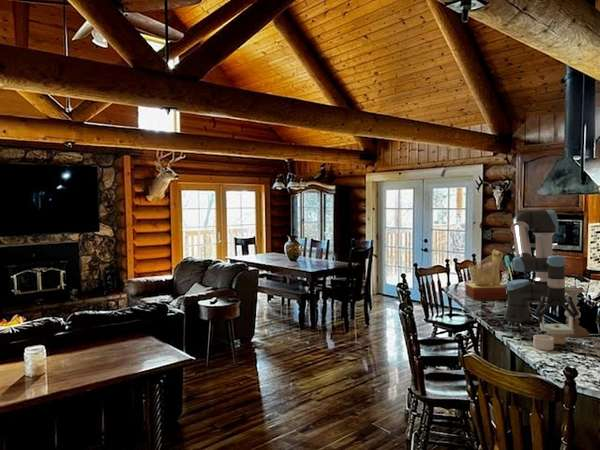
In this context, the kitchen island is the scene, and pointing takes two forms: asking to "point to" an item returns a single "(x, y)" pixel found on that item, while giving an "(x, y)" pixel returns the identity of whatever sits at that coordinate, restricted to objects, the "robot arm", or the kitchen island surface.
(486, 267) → the decorative skull
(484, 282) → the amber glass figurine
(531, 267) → the robot arm
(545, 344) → the bowl
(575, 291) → the candle holder
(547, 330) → the lid
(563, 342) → the block
